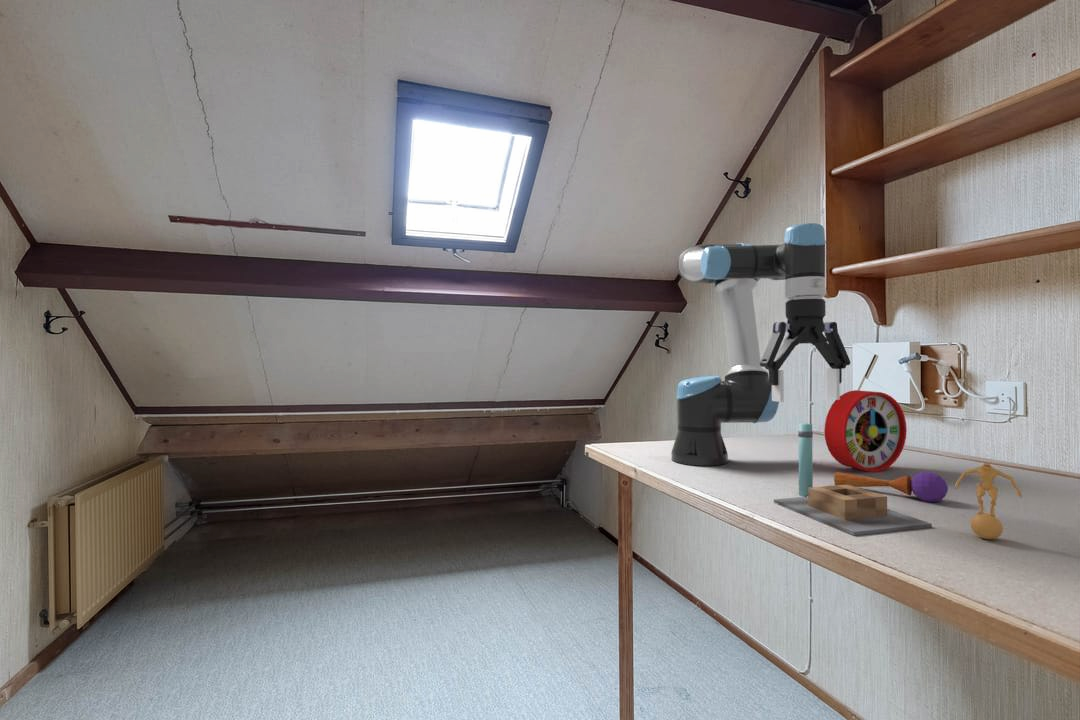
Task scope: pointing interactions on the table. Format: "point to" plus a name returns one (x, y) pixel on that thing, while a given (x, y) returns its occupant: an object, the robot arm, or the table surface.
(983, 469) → the figurine
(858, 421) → the toy clock
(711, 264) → the robot arm
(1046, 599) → the table surface
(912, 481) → the kendama
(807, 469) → the banded teal rod
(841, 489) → the gray base plate
